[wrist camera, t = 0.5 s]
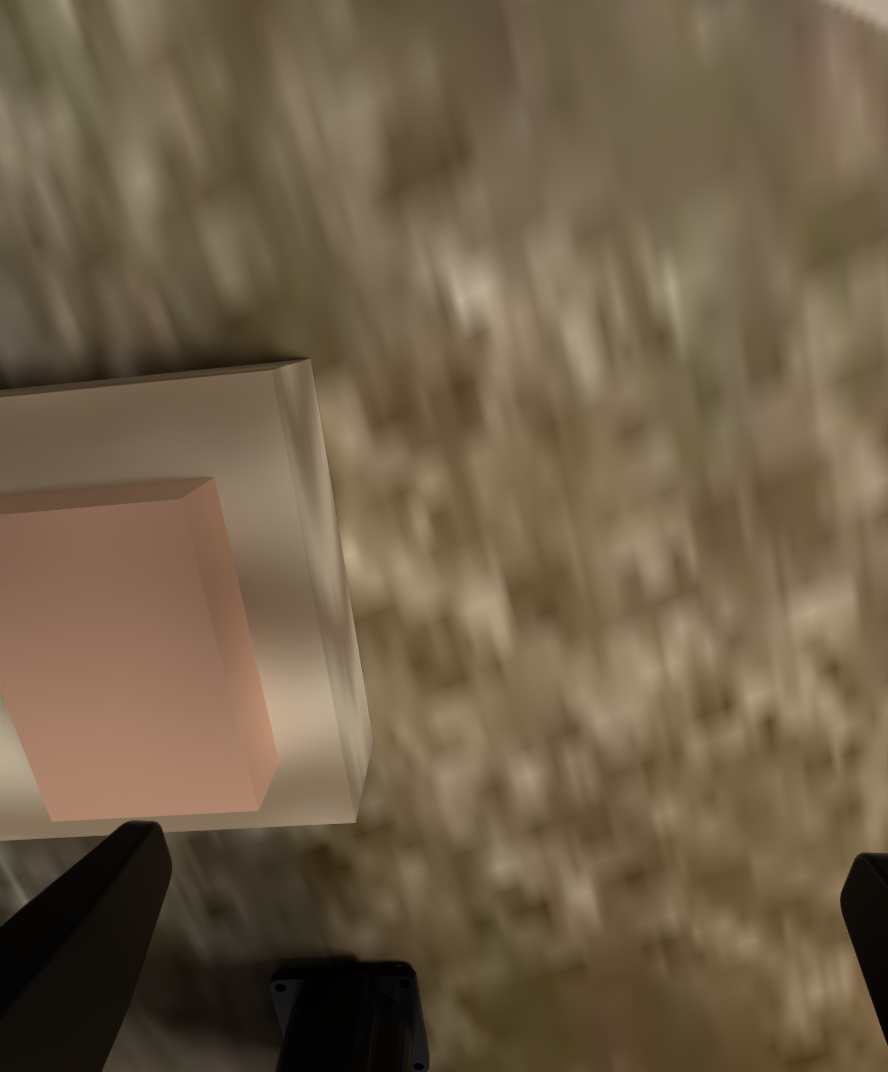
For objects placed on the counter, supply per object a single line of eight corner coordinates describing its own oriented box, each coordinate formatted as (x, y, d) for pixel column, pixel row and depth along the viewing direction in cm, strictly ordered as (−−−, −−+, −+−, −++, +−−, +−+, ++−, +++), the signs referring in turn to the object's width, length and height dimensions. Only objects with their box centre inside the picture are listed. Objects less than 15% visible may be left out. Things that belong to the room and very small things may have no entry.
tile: (279, 761, 19) (258, 810, 17) (91, 772, 20) (52, 821, 18) (214, 476, 16) (181, 498, 14) (-6, 496, 17) (-67, 521, 15)
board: (373, 741, 24) (355, 822, 20) (-27, 764, 25) (-116, 846, 21) (310, 358, 19) (271, 370, 15) (-180, 408, 20) (-330, 430, 16)
